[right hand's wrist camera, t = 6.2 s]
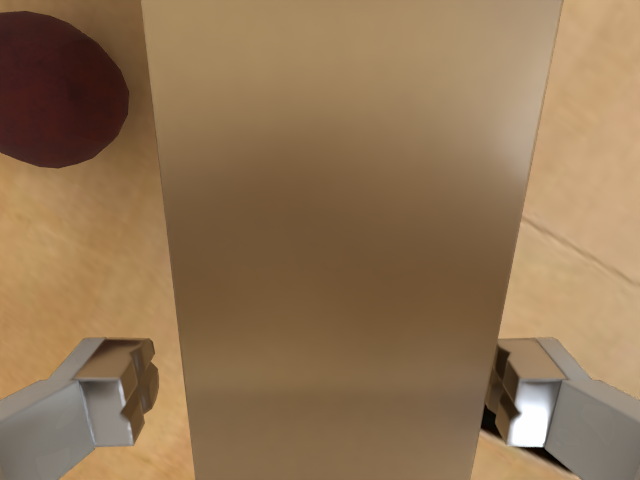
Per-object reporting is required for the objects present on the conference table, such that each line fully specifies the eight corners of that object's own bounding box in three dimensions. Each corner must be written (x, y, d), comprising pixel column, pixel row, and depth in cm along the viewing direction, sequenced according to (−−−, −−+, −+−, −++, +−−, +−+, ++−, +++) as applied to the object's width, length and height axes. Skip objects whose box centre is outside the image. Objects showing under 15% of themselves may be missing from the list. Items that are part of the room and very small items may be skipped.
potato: (-4, 20, 24) (-127, 1, 17) (138, 20, 24) (69, 0, 17) (28, 155, 27) (-67, 183, 20) (156, 155, 27) (102, 182, 20)
